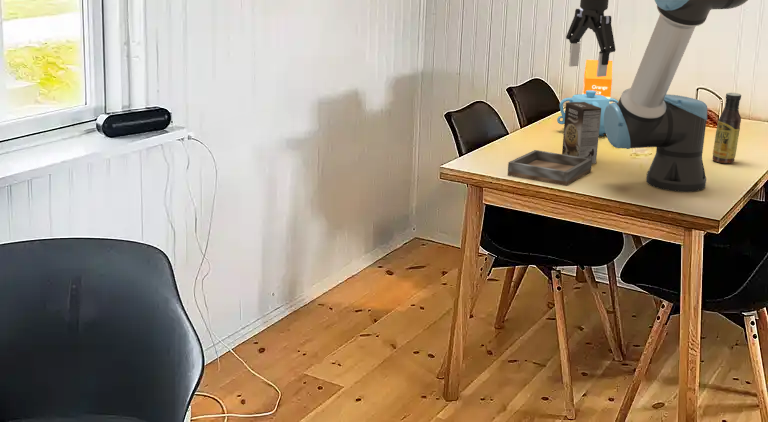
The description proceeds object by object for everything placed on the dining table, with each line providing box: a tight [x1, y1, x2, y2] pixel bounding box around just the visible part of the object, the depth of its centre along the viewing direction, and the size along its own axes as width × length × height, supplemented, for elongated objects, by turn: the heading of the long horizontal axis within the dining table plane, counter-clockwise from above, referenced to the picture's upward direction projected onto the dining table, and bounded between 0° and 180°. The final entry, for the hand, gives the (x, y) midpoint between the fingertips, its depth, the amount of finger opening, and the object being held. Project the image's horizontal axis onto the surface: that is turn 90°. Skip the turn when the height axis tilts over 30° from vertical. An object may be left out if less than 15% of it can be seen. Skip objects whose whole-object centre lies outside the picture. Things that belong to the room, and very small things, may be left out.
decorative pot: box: [556, 90, 619, 137], centre depth 317 cm, size 16×16×14 cm
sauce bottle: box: [712, 92, 742, 164], centre depth 284 cm, size 7×6×20 cm
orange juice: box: [582, 59, 613, 104], centre depth 336 cm, size 8×9×20 cm
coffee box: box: [561, 101, 601, 164], centre depth 283 cm, size 9×6×16 cm
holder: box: [507, 149, 592, 186], centre depth 271 cm, size 17×17×4 cm
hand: (587, 71), depth 281 cm, fingers open, 13 cm apart
